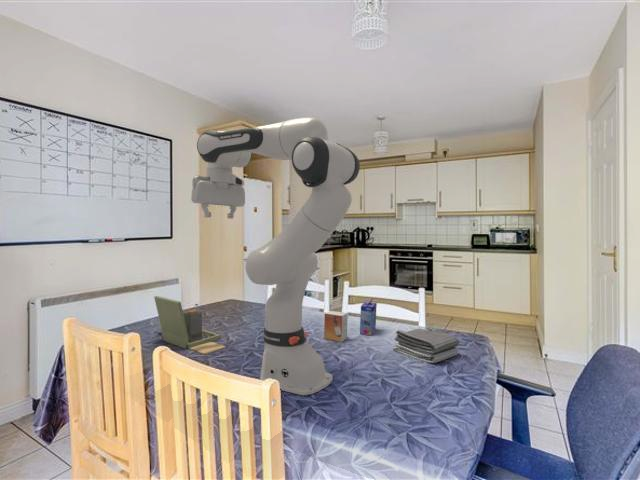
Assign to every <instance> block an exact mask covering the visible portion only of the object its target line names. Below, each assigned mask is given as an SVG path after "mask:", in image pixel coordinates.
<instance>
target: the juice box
mask: <svg viewBox="0 0 640 480" xmlns="http://www.w3.org/2000/svg"><path fill="white" fill-rule="evenodd" d="M373 300H374V298H372V299H371V300H370V301H364V303H362V304H361V305H360V316H359V317H360V320H359V322H360V323H359V324H360V325H359V334H360V335H364V336H365V335H366V336H371V337H372V336H373V334H374V333H375V331H376V325H377V324H376V323H377V306H378V304H377V302H375V301H374V302H373Z"/></svg>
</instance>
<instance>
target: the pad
mask: <svg viewBox="0 0 640 480" xmlns="http://www.w3.org/2000/svg"><path fill="white" fill-rule="evenodd" d="M225 348H226V346H225V345H222V344H219V343H217V342H214V341H211V342H208V343H205V344H201V345H198V346H195V347H192V348H189V350H191V351H193V352H197V353H199V354H201V355H204V356H205V355H208V354H211V353H214V352H216V351H221V350H224V349H225Z"/></svg>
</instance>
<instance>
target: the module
mask: <svg viewBox="0 0 640 480" xmlns="http://www.w3.org/2000/svg"><path fill="white" fill-rule="evenodd" d="M183 315H184V320H185V324H186V329H187V334H188V343H192V342H195V341H198V340H202V339H203V334H202V329H203V312H202V311H200V310H197V309H189V310H187V311H183Z"/></svg>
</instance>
